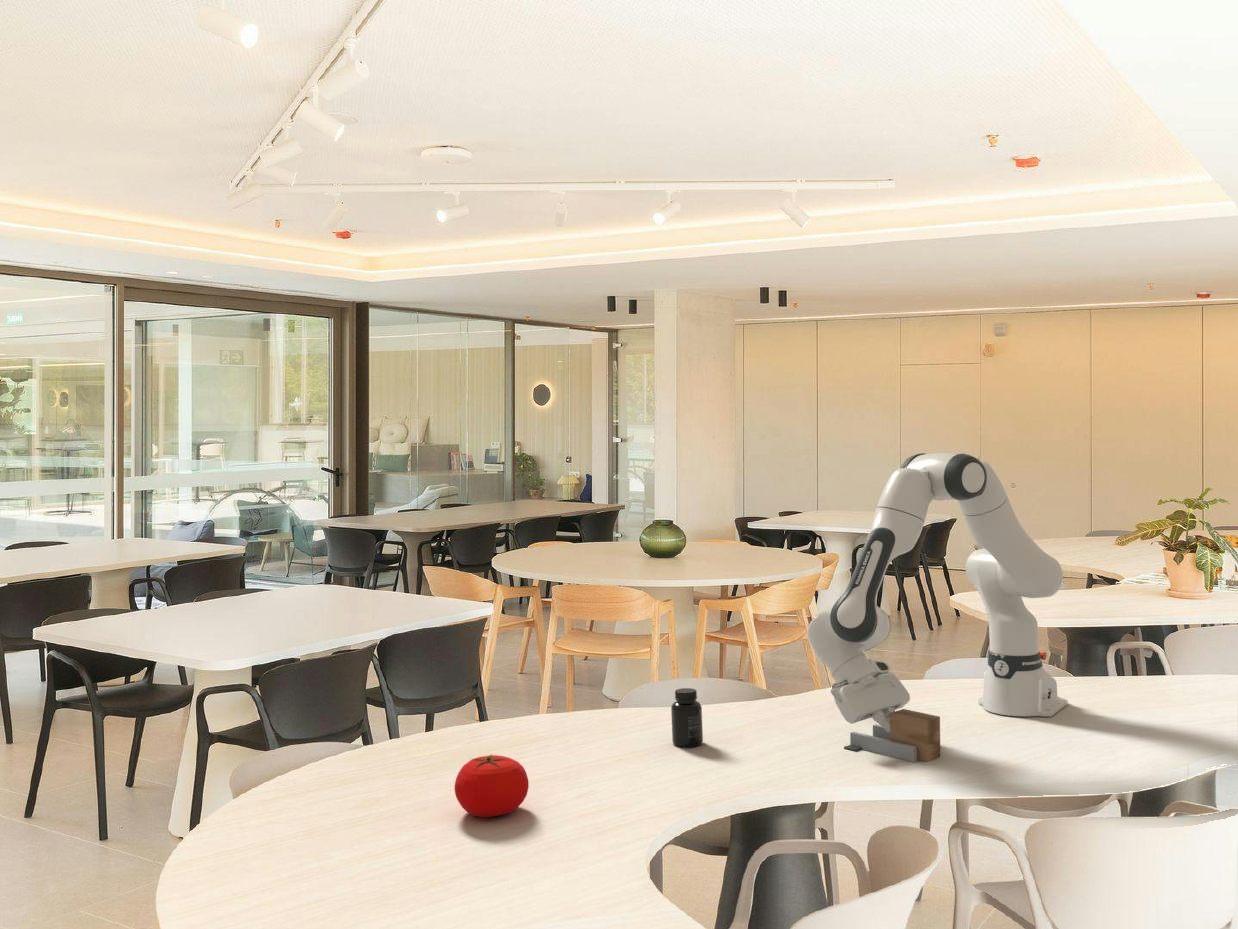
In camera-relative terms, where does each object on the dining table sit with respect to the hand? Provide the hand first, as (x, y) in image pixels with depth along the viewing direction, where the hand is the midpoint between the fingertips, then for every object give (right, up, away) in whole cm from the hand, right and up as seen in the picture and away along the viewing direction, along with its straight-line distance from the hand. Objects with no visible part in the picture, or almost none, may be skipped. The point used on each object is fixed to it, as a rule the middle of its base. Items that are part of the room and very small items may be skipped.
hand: (894, 729), depth 233 cm
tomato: (-83, -8, -32) cm, 89 cm away
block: (+3, -4, -4) cm, 7 cm away
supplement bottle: (-44, -5, +8) cm, 45 cm away
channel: (0, -4, 0) cm, 4 cm away
